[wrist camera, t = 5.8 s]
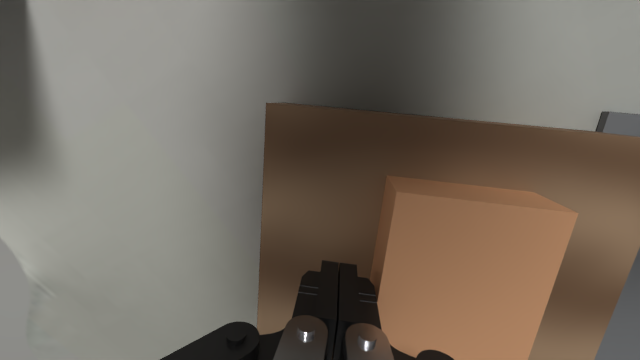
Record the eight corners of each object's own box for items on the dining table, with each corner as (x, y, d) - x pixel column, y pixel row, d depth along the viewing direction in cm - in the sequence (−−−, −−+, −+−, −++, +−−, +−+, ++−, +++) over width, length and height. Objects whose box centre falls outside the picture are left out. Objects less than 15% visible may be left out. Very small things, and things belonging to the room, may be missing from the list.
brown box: (284, 102, 16) (266, 103, 12) (595, 131, 15) (682, 141, 11) (272, 321, 20) (255, 375, 16) (523, 355, 19) (569, 420, 15)
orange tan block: (386, 175, 12) (396, 192, 10) (533, 192, 12) (578, 213, 10) (358, 349, 15) (361, 396, 12) (481, 367, 14) (507, 418, 12)
